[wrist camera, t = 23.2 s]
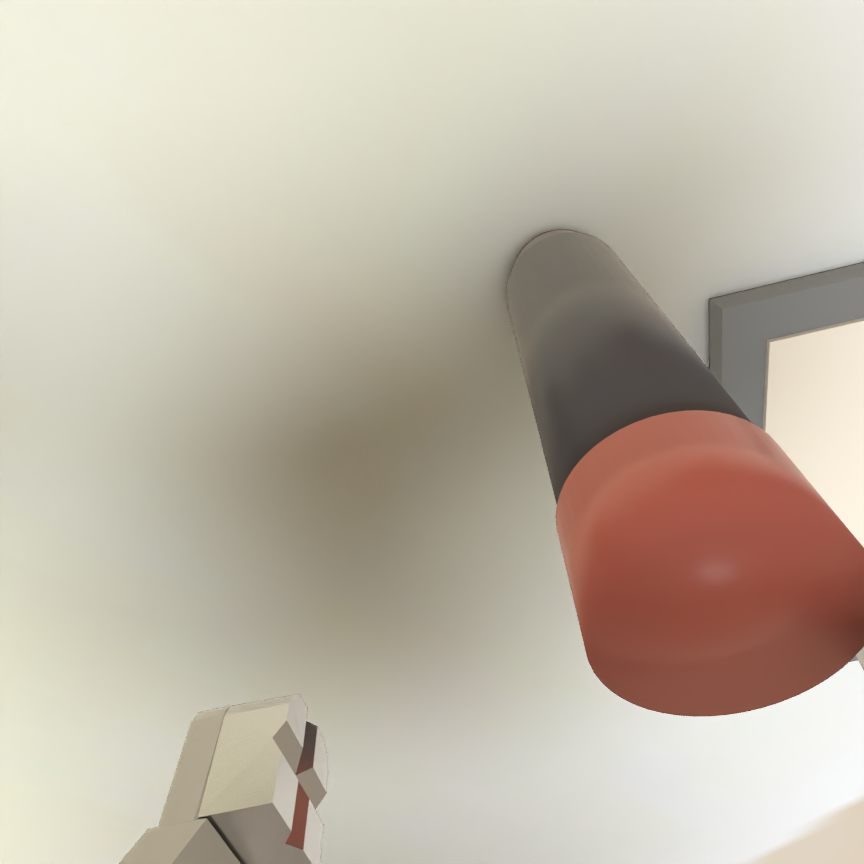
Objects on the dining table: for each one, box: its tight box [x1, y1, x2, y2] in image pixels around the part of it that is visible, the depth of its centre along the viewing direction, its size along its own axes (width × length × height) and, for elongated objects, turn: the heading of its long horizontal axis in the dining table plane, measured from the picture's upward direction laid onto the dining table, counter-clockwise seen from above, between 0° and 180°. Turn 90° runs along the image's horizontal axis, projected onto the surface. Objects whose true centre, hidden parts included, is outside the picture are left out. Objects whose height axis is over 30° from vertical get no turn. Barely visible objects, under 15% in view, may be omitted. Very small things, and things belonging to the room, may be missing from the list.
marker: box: [506, 230, 864, 716], centre depth 14 cm, size 4×4×14 cm
